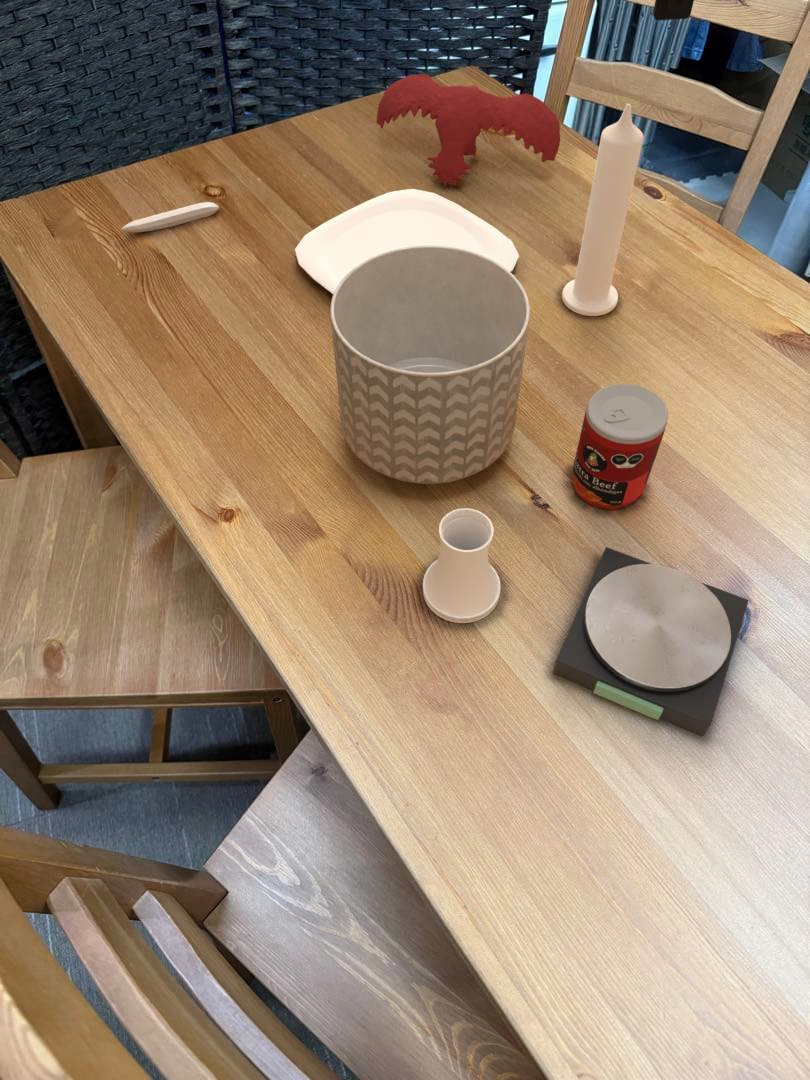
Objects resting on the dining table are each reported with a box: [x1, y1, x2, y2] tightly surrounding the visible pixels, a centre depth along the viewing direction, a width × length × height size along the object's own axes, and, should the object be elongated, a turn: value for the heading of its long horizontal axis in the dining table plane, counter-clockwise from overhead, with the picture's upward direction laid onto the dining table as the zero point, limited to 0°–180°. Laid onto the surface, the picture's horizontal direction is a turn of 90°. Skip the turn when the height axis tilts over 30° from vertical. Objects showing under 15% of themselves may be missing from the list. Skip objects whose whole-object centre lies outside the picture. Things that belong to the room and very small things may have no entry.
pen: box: [120, 201, 220, 233], centre depth 119 cm, size 2×14×2 cm, turn 116°
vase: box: [422, 507, 501, 624], centre depth 80 cm, size 8×8×10 cm
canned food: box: [571, 383, 669, 510], centre depth 87 cm, size 8×8×11 cm
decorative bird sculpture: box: [375, 73, 561, 188], centre depth 125 cm, size 28×9×15 cm
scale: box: [552, 546, 749, 737], centre depth 79 cm, size 14×14×4 cm
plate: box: [294, 188, 520, 296], centre depth 114 cm, size 25×25×2 cm
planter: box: [329, 245, 531, 485], centre depth 89 cm, size 19×19×18 cm
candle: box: [561, 103, 644, 317], centre depth 99 cm, size 7×7×25 cm
